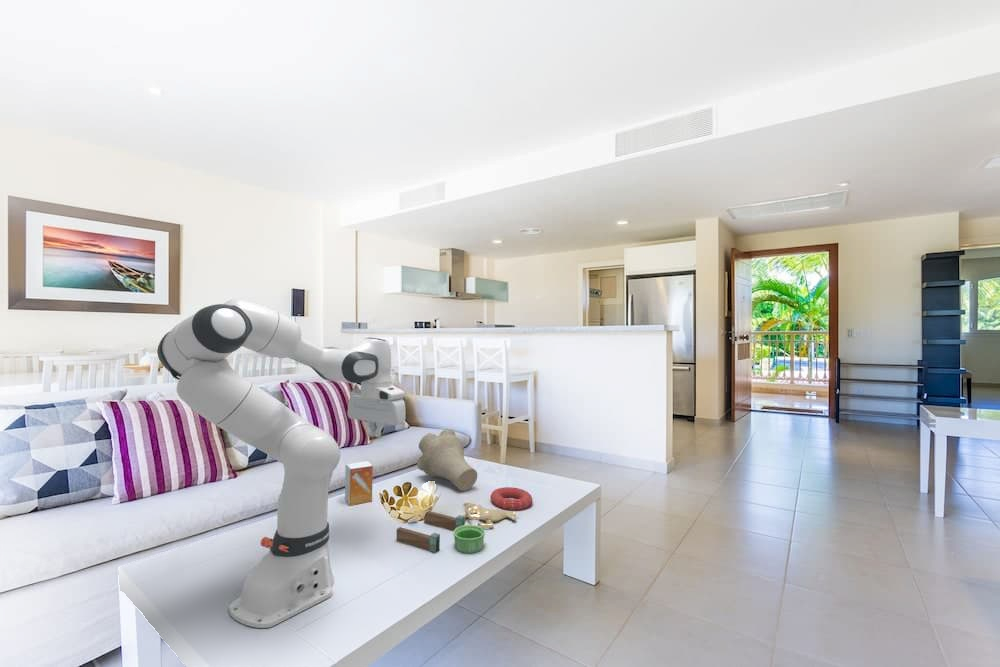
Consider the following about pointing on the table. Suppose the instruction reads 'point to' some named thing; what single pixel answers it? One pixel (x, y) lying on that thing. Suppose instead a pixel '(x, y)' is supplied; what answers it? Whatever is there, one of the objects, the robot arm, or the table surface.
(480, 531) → the ramekin
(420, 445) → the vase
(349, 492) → the small box
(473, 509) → the unicorn
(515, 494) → the torus
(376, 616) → the table surface
